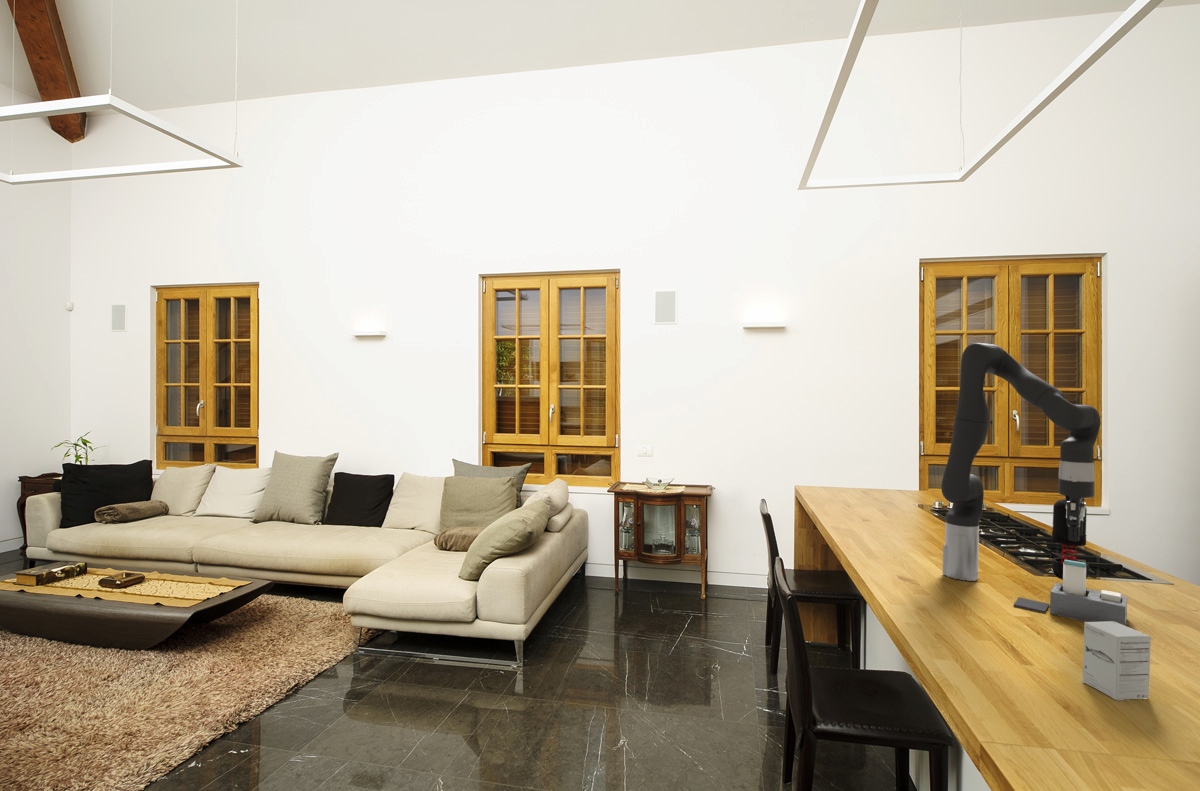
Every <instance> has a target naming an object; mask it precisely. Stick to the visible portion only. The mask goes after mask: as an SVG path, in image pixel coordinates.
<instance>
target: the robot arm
mask: <svg viewBox="0 0 1200 791" xmlns="http://www.w3.org/2000/svg"><path fill="white" fill-rule="evenodd" d="M986 374H991V375H994V376H997V377H999V378H1000V379H1003V380H1005V381H1006V382H1007V383H1009V384H1010V385H1011V386H1012V387H1013V388H1014V390H1015V392H1016V393H1017V394H1018V396H1020V397H1021V398H1022V399H1024V400H1025V401H1026V402H1028V403H1029V404H1031V405H1032V406H1034V407H1035V408H1037V409H1039V410H1040V411H1041V412H1042V413H1044V414H1045V416H1046V417H1047V418H1048V419H1049V420H1050V421H1051V422H1052V423H1053V424H1054V425H1056V426H1057V427H1059V428H1061V429H1063V430H1066V431H1069V434H1068V437H1067V438H1066V439H1064V440H1062V441H1061V443H1060V449H1059V450H1060V452H1059V457H1060V458H1059V460H1060V461H1059V465H1058V466H1059V467H1058V488H1057V489H1058V491H1057V492H1058V494H1059V495H1061V496H1064V497H1065V496H1069V498H1070V499H1069V501H1067V502H1066V509H1067V510H1066V518H1067V521H1066V523H1067V525H1068V539H1069V540H1070V541H1076V542H1077V541H1079V536H1082V522H1083V521H1084V517H1085V509H1086V508H1087V504H1086V502H1085V500H1086V499H1091V498H1094V497H1095V471H1096V470H1095V464H1094V462H1095V461H1094V455H1095V454H1094V451H1095V450H1094V447H1095V444H1096V441H1097V438H1098V435H1099V431H1100V429H1101V428H1100V427H1101V416H1100V413H1099V410H1097V409H1096V407H1093V406H1092V405H1089V404H1074V403H1071V402H1070V401H1068V400H1067V399H1066V395H1065V393H1064V392H1062V390H1060V389H1059V388H1057V387H1056V386H1053V385H1052V384H1050V383H1048V382H1047V381H1046V380H1043V379H1042V378H1040V377H1039V376H1037V375H1035V374H1034V373H1033V372H1031V371H1030V370H1028V369H1027V368H1026V367H1025V366H1024V365H1022V364H1021V363H1020V362H1018V361H1017V360H1016V359H1015V358H1014V357H1012V355H1011V354H1009V353H1008V351H1006V350H1005V349H1004V348H1002V347H1001V346H999V345H997V344H993V343H982V342H974V343H971V344H969V345H968V346H966V347H965V349H964V350H963V352H962V355H961V359H960V380H959V390H958V397H957V406H956V410H955V411H956V412H955V415H954V422H953V428H952V437H951V442H950V446H949V447H950V448H949V453H948V459H947V463H946V466H945V470H944V473H943V476H942V479H941V485H940V489H941V493H942V496H943V498H944V499H945V500H946V501H947V502H949V503H951V504H952V507H951V508H950V509H949V510H948V511H947V512H946V514H945V525H944V526H945V527H944V530H945V534H944V536H945V537H944V538H945V539H944V544H943V546H942V576H945V575H946V576H945V577H948V578H951V579H955V580H958V579H959V580H960V581H965V580H966V581H968V582H971V581H972V582H974V581H977V580H978V579H979V551H980V550H979V546H980V545H979V544H980V542H979V539H980V521H981V518H982V515H983V508H984V495H985V494H984V493H985V492H984V485H983V483H982V481H981V479H980V478H979V477H978V476H976V475H975V474H972V473H971V471H972V465H973V462H974V460H975V458H976V456H977V454H978V452H979V451H980V449H981V448H982V447H983V445H984V443H985V441H986V439H987V435H988V431H989V426H990V419H991V416H990V410H989V406H988V403H987V401H986V397H985V394H984V384H985V380H986V379H985V378H986ZM1071 519H1072V521H1071Z"/></svg>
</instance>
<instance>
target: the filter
mask: <svg viewBox="0 0 1200 791" xmlns="http://www.w3.org/2000/svg"><path fill="white" fill-rule="evenodd" d="M1064 498H1065V499H1059V500H1057V501H1055V502H1054V503H1053V508H1052V512H1053V513H1052V532H1051V540H1052V542H1054V543H1057V544H1061V548H1062V549H1061V557H1053V558H1051V566H1052V567H1051V568H1052V572H1053V574H1054V576H1055V577H1056V578H1058V580H1059V579H1060V580H1062V581H1063V563H1064V560H1071V561H1077V562H1083V563H1086V580H1087V579H1088V576H1089V570H1090V569H1089V568H1090V565H1089V563H1087V562H1086V561H1082V560H1078V558H1077V556H1078V555H1077V553H1078V551H1077V549H1078V547H1085V546H1086V545H1087V511H1088V510H1087V507H1086V509H1085V517H1084V521H1083V522H1082V536H1079V541H1077V542H1076V541H1070V540H1069V539H1068V525H1067V523H1066V521H1067V518H1066V510H1067V509H1066V502H1067V501H1069V499H1070V498H1069V496H1064ZM1071 521H1072V519H1071ZM1064 547H1067V549H1064ZM1068 547H1069V548H1075V550H1072V549H1069V548H1068ZM1064 553H1067V555H1064ZM1068 554H1071V555H1068ZM1072 554H1073V555H1075V556H1072Z"/></svg>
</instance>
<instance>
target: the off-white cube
mask: <svg viewBox="0 0 1200 791" xmlns="http://www.w3.org/2000/svg"><path fill="white" fill-rule="evenodd" d="M1100 591H1101V599H1106V600H1111V601H1116V602H1121V595H1122V593H1121V592H1117V591H1110V590H1105V589H1101V590H1100Z"/></svg>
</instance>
